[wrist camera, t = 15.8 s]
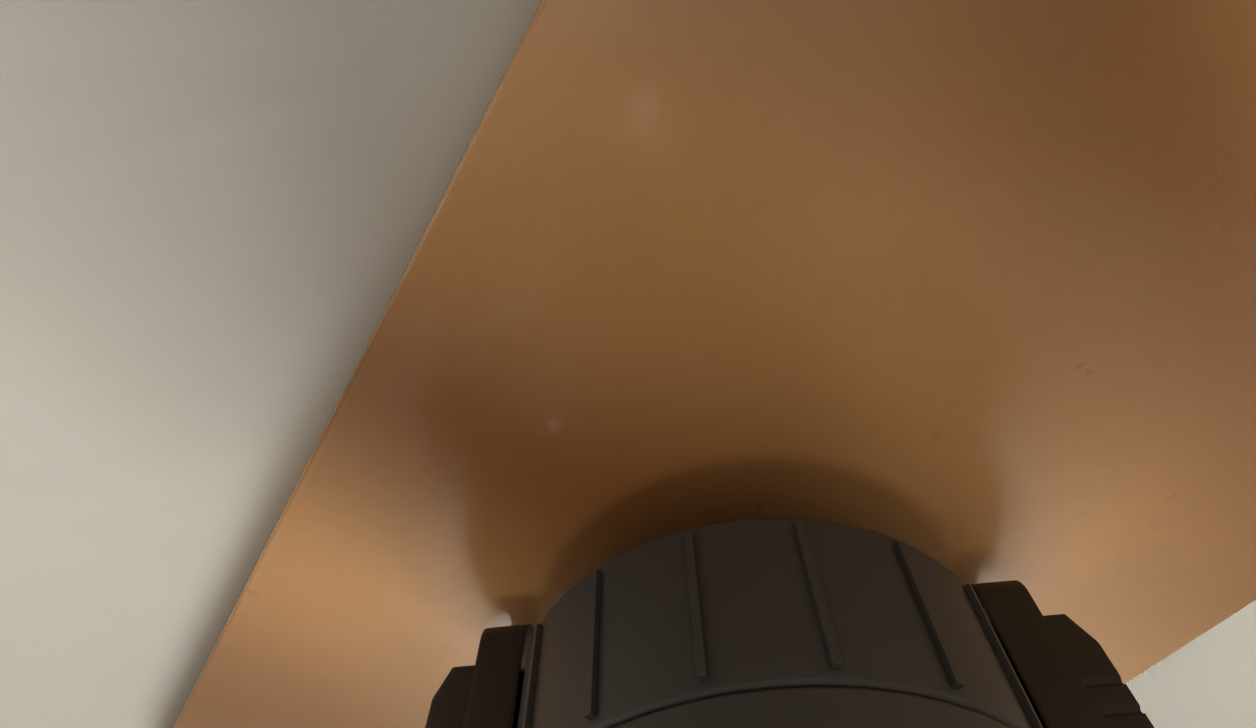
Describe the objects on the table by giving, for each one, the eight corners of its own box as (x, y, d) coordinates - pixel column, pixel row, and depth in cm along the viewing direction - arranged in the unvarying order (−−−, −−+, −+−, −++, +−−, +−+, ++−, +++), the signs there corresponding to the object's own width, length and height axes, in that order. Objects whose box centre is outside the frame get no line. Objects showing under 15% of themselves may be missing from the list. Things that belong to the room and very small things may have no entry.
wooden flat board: (722, 912, 19) (725, 939, 18) (166, 745, 15) (149, 774, 14) (1584, 336, 10) (1636, 359, 9) (769, -442, 6) (782, -476, 6)
